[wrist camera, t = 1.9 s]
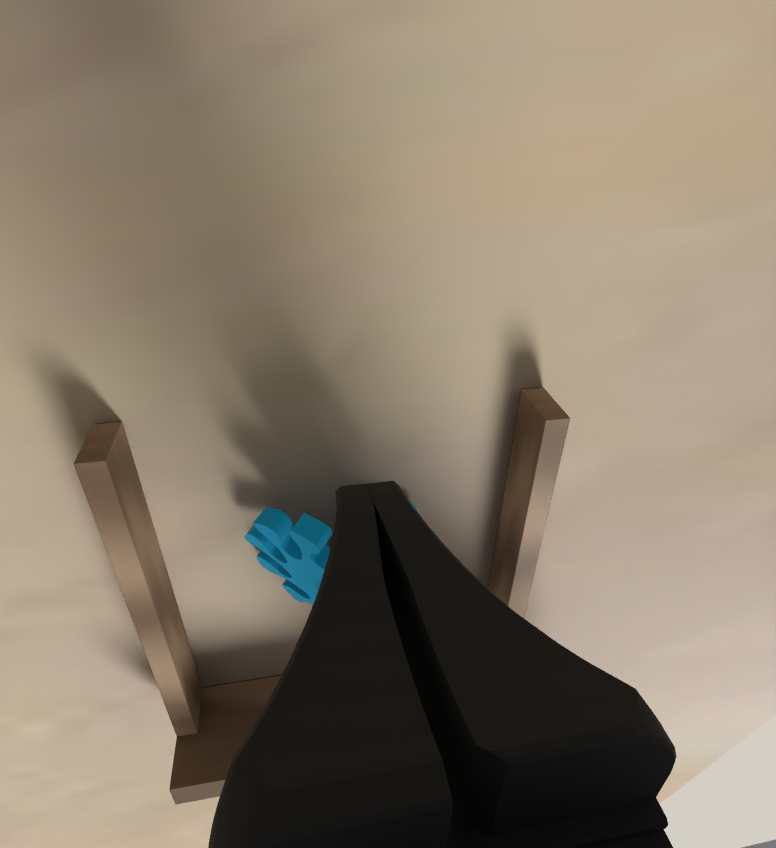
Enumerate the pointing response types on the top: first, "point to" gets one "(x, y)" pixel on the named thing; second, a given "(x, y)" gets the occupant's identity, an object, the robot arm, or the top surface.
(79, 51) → the top surface
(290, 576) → the gear
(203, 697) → the wooden u-shaped frame
